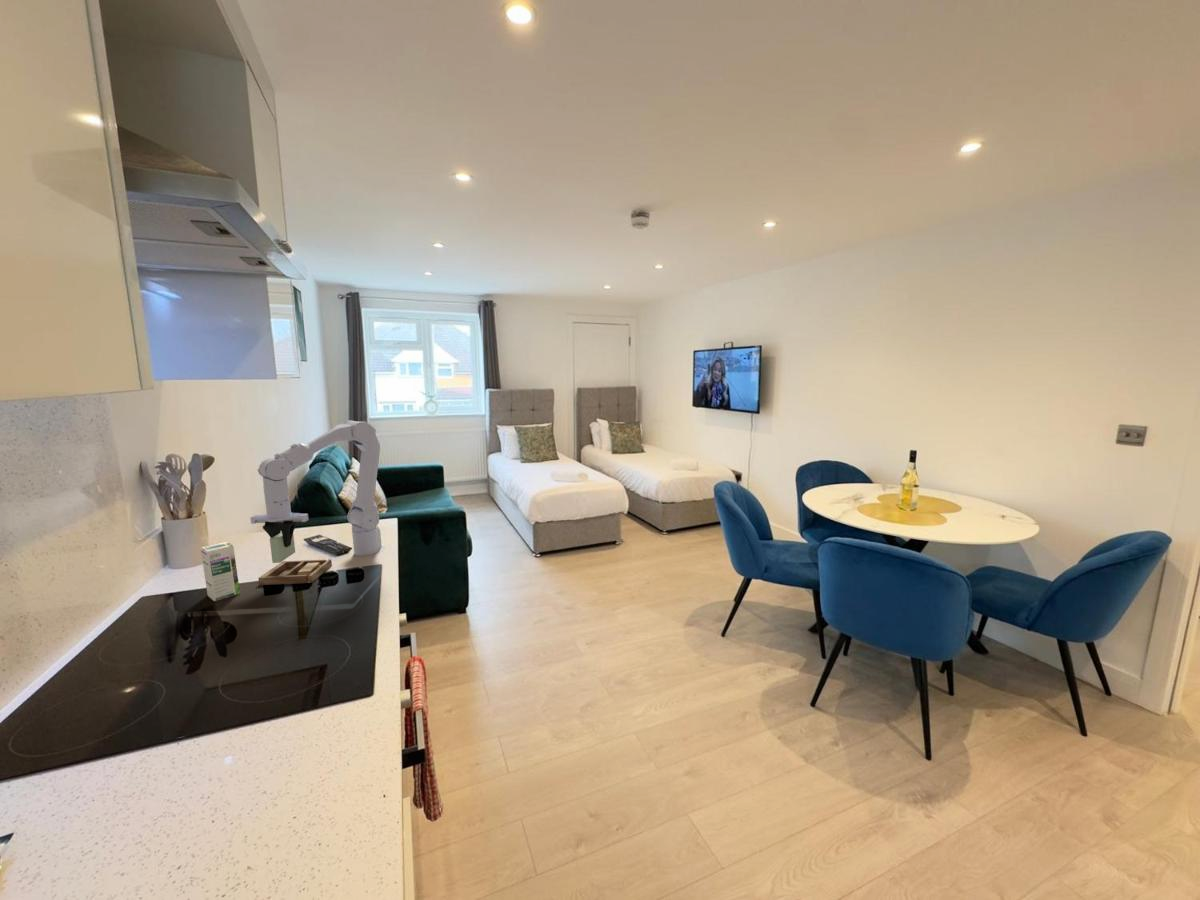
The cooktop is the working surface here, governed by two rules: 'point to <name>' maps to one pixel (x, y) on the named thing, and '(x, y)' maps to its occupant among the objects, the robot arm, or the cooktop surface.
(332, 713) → the cooktop surface
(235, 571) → the syrup box
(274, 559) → the pale green flat block
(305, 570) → the offcut stack
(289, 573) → the rack
